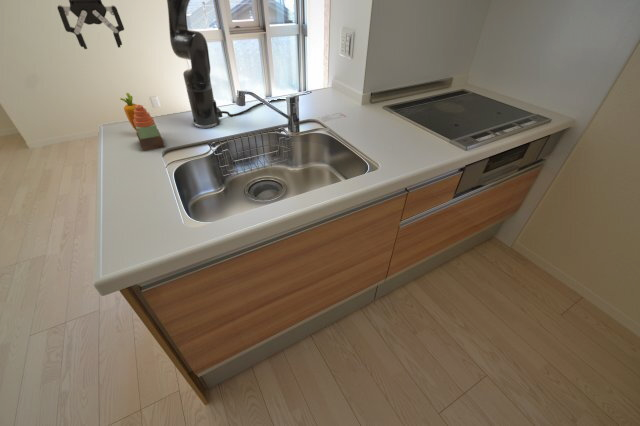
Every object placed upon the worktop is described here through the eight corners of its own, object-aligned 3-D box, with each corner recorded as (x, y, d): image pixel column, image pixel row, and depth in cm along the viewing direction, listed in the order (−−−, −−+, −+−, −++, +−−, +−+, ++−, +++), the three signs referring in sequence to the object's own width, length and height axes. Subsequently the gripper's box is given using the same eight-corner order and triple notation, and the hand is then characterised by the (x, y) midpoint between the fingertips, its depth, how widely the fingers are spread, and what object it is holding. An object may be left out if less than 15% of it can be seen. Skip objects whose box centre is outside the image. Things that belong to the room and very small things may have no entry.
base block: (161, 138, 109) (157, 128, 106) (164, 147, 105) (161, 136, 102) (140, 142, 106) (136, 132, 103) (142, 151, 102) (138, 140, 99)
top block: (156, 129, 106) (153, 118, 103) (159, 136, 102) (156, 125, 99) (138, 132, 103) (134, 121, 101) (140, 139, 99) (136, 128, 97)
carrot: (143, 138, 108) (128, 97, 99) (131, 136, 109) (115, 95, 99) (151, 132, 112) (138, 92, 102) (139, 131, 113) (125, 91, 103)
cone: (152, 118, 103) (146, 100, 99) (155, 125, 99) (149, 106, 95) (133, 121, 101) (126, 102, 96) (136, 128, 97) (128, 109, 93)
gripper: (42, -22, 72) (74, 52, 82) (109, -19, 78) (131, 49, 88) (44, -24, 76) (74, 46, 87) (107, -21, 83) (128, 43, 93)
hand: (103, 47), depth 88 cm, fingers open, 8 cm apart
